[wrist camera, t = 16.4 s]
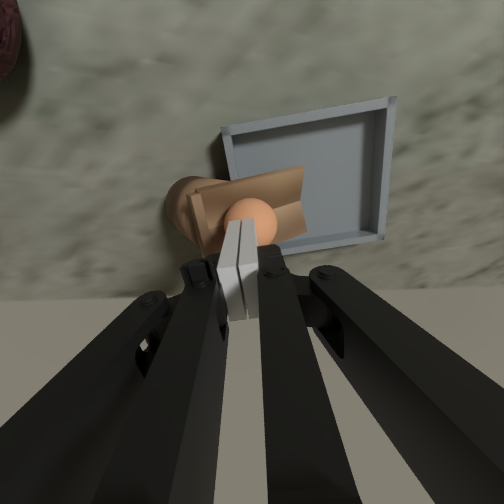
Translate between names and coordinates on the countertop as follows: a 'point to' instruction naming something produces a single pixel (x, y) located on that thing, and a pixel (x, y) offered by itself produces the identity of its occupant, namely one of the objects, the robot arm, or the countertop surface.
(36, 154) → the countertop surface
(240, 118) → the countertop surface
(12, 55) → the bowl
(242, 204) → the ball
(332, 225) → the tray
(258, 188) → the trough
